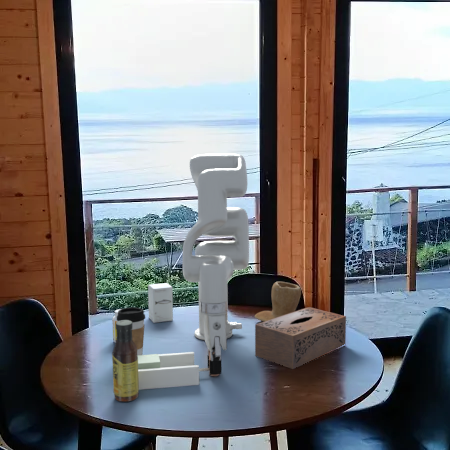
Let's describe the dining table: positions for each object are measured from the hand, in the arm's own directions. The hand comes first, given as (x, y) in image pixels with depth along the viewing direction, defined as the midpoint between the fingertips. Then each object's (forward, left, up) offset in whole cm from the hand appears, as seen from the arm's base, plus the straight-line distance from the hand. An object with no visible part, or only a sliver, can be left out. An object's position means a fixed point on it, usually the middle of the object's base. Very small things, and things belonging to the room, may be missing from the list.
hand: (214, 370), depth 158 cm
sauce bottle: (+24, +10, -1) cm, 26 cm away
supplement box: (+11, -54, -1) cm, 55 cm away
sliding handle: (+10, 0, -1) cm, 10 cm away
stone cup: (-30, -40, -1) cm, 50 cm away
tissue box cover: (-29, -13, -2) cm, 32 cm away
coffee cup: (+22, -17, -1) cm, 28 cm away
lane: (+14, 0, -1) cm, 14 cm away
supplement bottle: (+25, -33, -1) cm, 41 cm away
